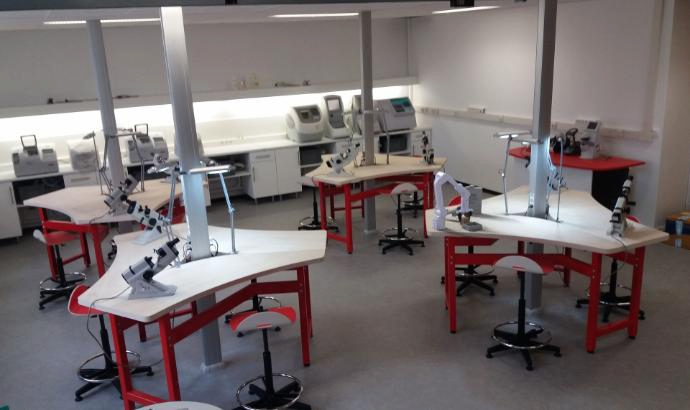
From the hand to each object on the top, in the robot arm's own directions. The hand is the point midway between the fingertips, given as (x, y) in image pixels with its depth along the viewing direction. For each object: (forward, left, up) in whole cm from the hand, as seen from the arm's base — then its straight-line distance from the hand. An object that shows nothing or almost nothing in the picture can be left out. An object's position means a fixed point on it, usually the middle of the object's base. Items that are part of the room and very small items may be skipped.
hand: (464, 221), depth 452 cm
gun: (0, +17, -3) cm, 17 cm away
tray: (0, -11, -3) cm, 11 cm away
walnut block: (0, 0, -3) cm, 3 cm away
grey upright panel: (+24, +26, -3) cm, 35 cm away
